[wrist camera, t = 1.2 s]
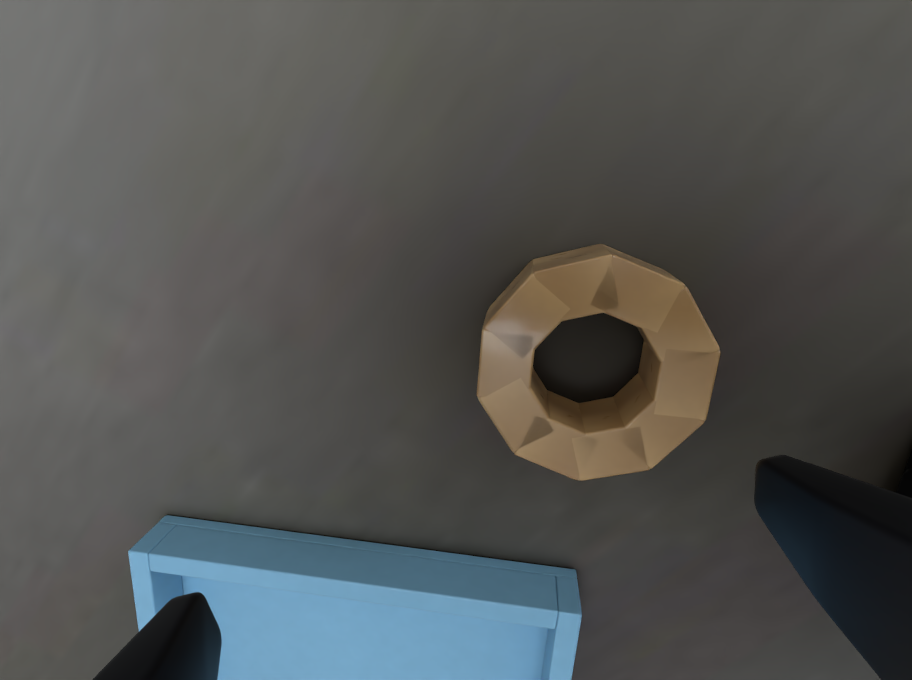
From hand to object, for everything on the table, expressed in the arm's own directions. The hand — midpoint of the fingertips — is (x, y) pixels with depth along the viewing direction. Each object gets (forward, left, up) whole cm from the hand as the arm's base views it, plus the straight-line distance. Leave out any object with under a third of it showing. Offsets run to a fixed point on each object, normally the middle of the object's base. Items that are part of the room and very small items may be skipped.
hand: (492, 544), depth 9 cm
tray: (+5, +16, -10) cm, 20 cm away
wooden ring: (-3, 0, -10) cm, 11 cm away
